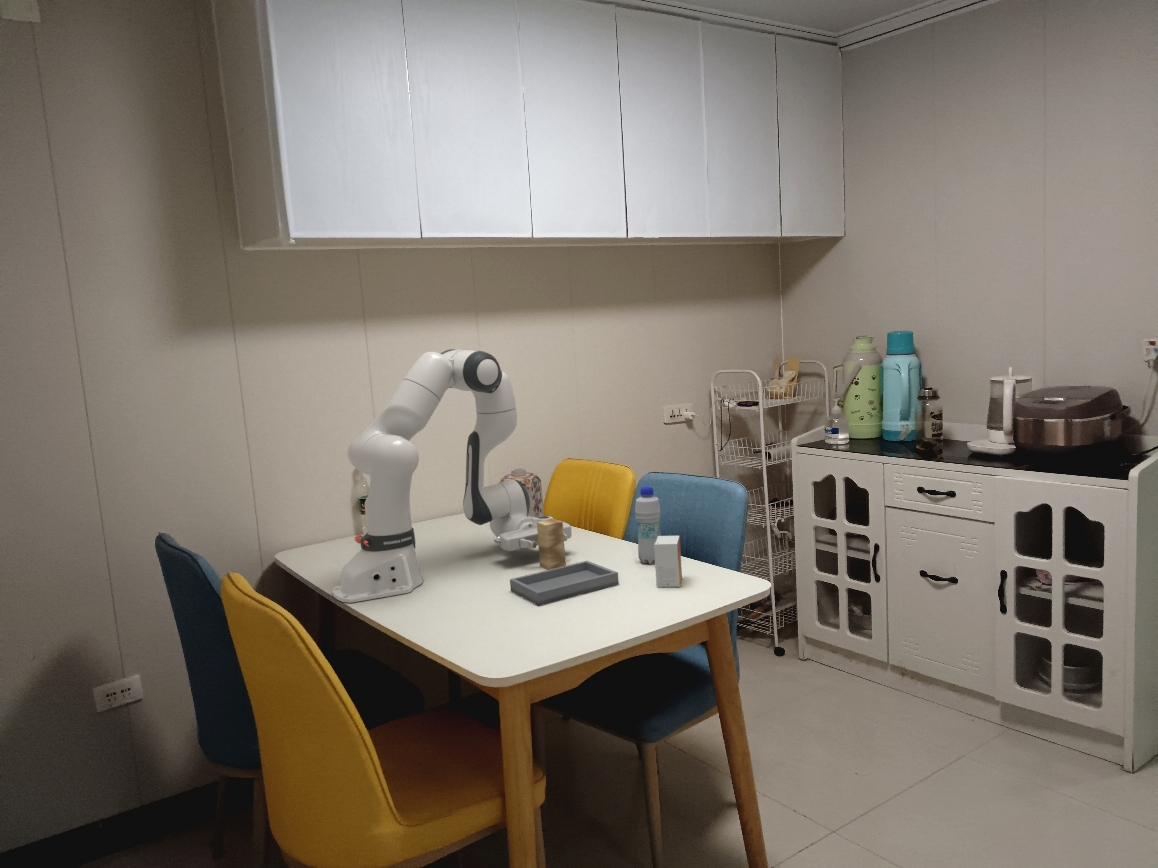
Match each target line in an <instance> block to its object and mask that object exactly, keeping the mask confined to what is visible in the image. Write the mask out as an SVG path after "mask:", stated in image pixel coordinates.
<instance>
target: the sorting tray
mask: <svg viewBox="0 0 1158 868" xmlns="http://www.w3.org/2000/svg"><path fill="white" fill-rule="evenodd" d="M509 584H510V585H509V586H510V592H511V591H512V593H513V592H514V593H513V594H515V593H516V594H515V595H517V594H518V595H517V596H519V597H520V598H523V599H525V600H526V599H527V600H526V601H528V600H529V601H528V602H530V601H531V603H532V602H533V603H532V604H534V603H535V605H537V606H538V607H540V606H544V605H547V603H548V604H550V602H551V603H554V602H559V601H564V600H566V599H570V598H574V597H577V596H581V595H584V594H588V593H593V592H596V591H599V590H603V589H604V590H605V589H607V588H611V587H615V586H619V572H618V571H615V570H612V569H610V568H608V567H605V566H602V565H599V564H597V563H594V562H593V561H589V560H585V561H579V562H577V563H576V562H575V563H572V564H571V563H570V564H568V565H567V564H566V566H563V567H559V568H554V569H550V570H547V569H545V570H543V571H538V572H534V573H530V574H525V575H522V576H518V577H517V576H516V577H514V578H513V577H512V578H510V579H509ZM543 604H544V605H543ZM539 605H540V606H539Z"/></svg>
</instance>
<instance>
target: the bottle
mask: <svg viewBox="0 0 1158 868" xmlns="http://www.w3.org/2000/svg"><path fill="white" fill-rule="evenodd" d="M639 492H640V496H639V497H637V498H636V499H635V504H634V505H635V506H634V507H635V508H634V509H635V510H634V513H635V518H636V526H637V541H638V542H637V544H638V545H637V546H638V547H637V550H638V551H637V555H638V559H639V561H640V562H641V563H643V564H645V563H646V564H647V562H648V564H649V565H652V564H653V562H654V561H655V552H654V544H655V542H656V540H657V536H662V534H661V532H662V531H661V519H660V518H661V516H662V515H661V512H662V511H661V505H660V499H659V498H658V497H657V496H654V488H653V487H651V486H643V487H641V488H640V490H639Z"/></svg>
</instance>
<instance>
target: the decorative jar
mask: <svg viewBox="0 0 1158 868" xmlns="http://www.w3.org/2000/svg"><path fill="white" fill-rule="evenodd" d="M526 470H527V469H526V468H524V467H523V468H520V467H519V468H513V469H511V470H510V471H511V472H510V473H509V474H506V475H503V476H501V478H500V479H499V482H498V483H501V482H505V481H509V480H516V481H518V482H519V483H521V484H522V485H523V486H524V487H525V489H526V490H527V492H528V495H529V499H530V509H529V514H528V516H527V517H529V516H531V517H545V512H544V499H543V497H544V496H543V490H542V480H541V478H540V477H539V476H538V475H537V474H536V473H533V472H527V471H526Z"/></svg>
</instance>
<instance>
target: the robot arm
mask: <svg viewBox="0 0 1158 868" xmlns="http://www.w3.org/2000/svg"><path fill="white" fill-rule="evenodd" d="M448 389H456V390H460V391H464V392H471V393H472V394H473V397H474V399H475V400H474V401H475V410H476V412H475V413H476V420H475V424H474V428H473V430H472V432H471V433H470V434H469V435H468V439H467V444H466V461H465V462H466V463H465V488H464V495H463V501H462V502H463V504H462V507H463V512H464V515H465V518H467V520H468V521H470V522H472V523H473V524H475V525H479V526H482V525H485V524H488V523H489V529H490V530H491V533H493V535H494V536H496V538H493V539H494V540H493V541H494V543H496V544H499V546H500V548H501V549H502V550H504V551H506V552H514V551H518V550H530V549H531V550H532V549H535V548H537V546H539V545H538V532H537V522H540V521H545V520H550V519H554V517H552V516H544V517H531V516H529V517H527V516H528V514H529V509H530V499H529V495H528V492H527V490H526V489H525V487H524V486H523V485H522V484H521V483H519V482H518V481H516V480H509V481H505V482H501V483H499V482H498V483H496V484H491V485H487V486H484V477H485V461H486V458H487V457H488V455H489V454H490V452H491V451H493V450H494V449H495V448H496V447H497V446H499V445H501V444H503V442H505V441H506V440H508V439H509V438H510V436H512V434H513V433H514V431H515V430H516V428H517V426H518V425H517V424H518V416H517V412H518V411H517V408H516V407H517V405H516V399H515V395H514V390H513V387H512V383H511V380H510V377H509V375H508V374H507V373H506V372H505V371H503V370H502V369H501V367H500V363H499V362H498V360H497V358H496V357H495V356H494V355H492V354H490V353H489V352H486V351H482V350H473V349H470V348H469V349H467V348H458V349H456V348H455V349H447V350H445V351H442V352H436V351H426V352H424V353H422V354H421V355H420V356H419V357H418V359H416V361H415V362H414V363H413V364H412V365H411V367H410V368H409V369H408V370H407V372H406V373H405V376H404V377H403V378H402V379H401V382H400V383H399V385H398V386H397V388H396V389H395V391H394V393H393V394H392V396H391V398H390V399H389V401H388V402H387V403H386V404H385V406H384V408H383V409H382V410H381V411H380V412H379V413H378V415H376V416H375V418H374V419H373V420H372V421H370V423H369V424H368V426H367V427H366V428H365V429H363V431H362V432H361V433H360V434H359V435H357V436H355V437H354V438H353V439H352V441H350V444H349V446H348V450H347V457H348V460H349V462H350V464H351V465H352V466H353V467H354V468H355V469H356V470H357V471H359V472H360V473H362V474H364V475H368V476H369V488H368V489H369V490H368V495H367V497H366V499H365V502H364V511H365V521H366V522H365V523H366V531H367V532H366V533H365V534H364V535H361V534H356V535H355V537H354V540H355V543H357V544H360V548H361V549H360V550H359V551H358V552H357V553H356V554H355V555H354V556H353V557H352V558H350V560H349V561H348V562H347V563H346V564H345V565H344V566H343V567H342V570H341V573H340V584H339V585H335V586H334V587H333V588H332V593H331V594H332V596H333V598H334V599H335V600H338V601H339V602H343V603H358V602H362V601H369V600H374V599H381V598H385V597H391V596H399V595H403V594H409V593H411V592H412V591H413V590H414V589H415V588H416V587H419V586H421V585H422V583H423V582H424V578H423V575H422V571H421V570H420V567H419V563H418V559H417V555H416V544H417V543H416V535H415V530H414V527H413V525H412V515H411V504H410V503H411V502H410V497H411V487H412V486H411V485H412V478H413V475H414V472H415V471H416V470H417V468H418V465H419V461H420V460H419V459H420V458H419V457H420V456H419V452H418V449H417V448H416V446H415V445H414V444H413V443H412V442H411V439H413V438H414V437H415V436H416V435H417V434H419V432H421V431H422V430H423V429H424V428H426V426H427V424H428V423H429V421H430V419H431V417H432V416H433V415H434V413H435V410H436V409H437V408H438V406H439V404H440V402H441V401H442V399H443V397H444V395H445V393H446V391H447V390H448ZM557 520H558V519H557ZM558 521H560V519H559V520H558ZM562 522H563V533H564V542H567V541H568V539H571V537H572V526H571V525H570V524H569V523H567V522H565V521H562Z"/></svg>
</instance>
